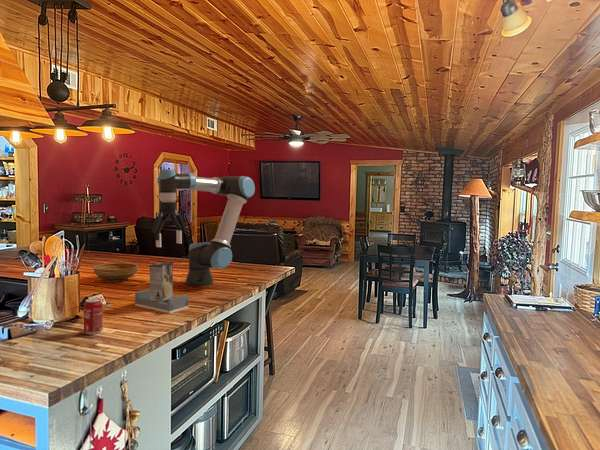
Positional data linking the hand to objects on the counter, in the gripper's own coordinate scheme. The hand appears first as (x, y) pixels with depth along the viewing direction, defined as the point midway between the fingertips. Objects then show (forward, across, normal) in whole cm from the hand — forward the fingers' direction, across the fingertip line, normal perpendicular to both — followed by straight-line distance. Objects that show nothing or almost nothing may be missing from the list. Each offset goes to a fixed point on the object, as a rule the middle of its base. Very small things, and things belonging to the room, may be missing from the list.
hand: (169, 245), depth 214 cm
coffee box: (+22, +16, +10) cm, 29 cm away
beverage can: (+24, +55, +16) cm, 62 cm away
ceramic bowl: (+26, -12, -53) cm, 61 cm away
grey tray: (+25, +16, +11) cm, 32 cm away
